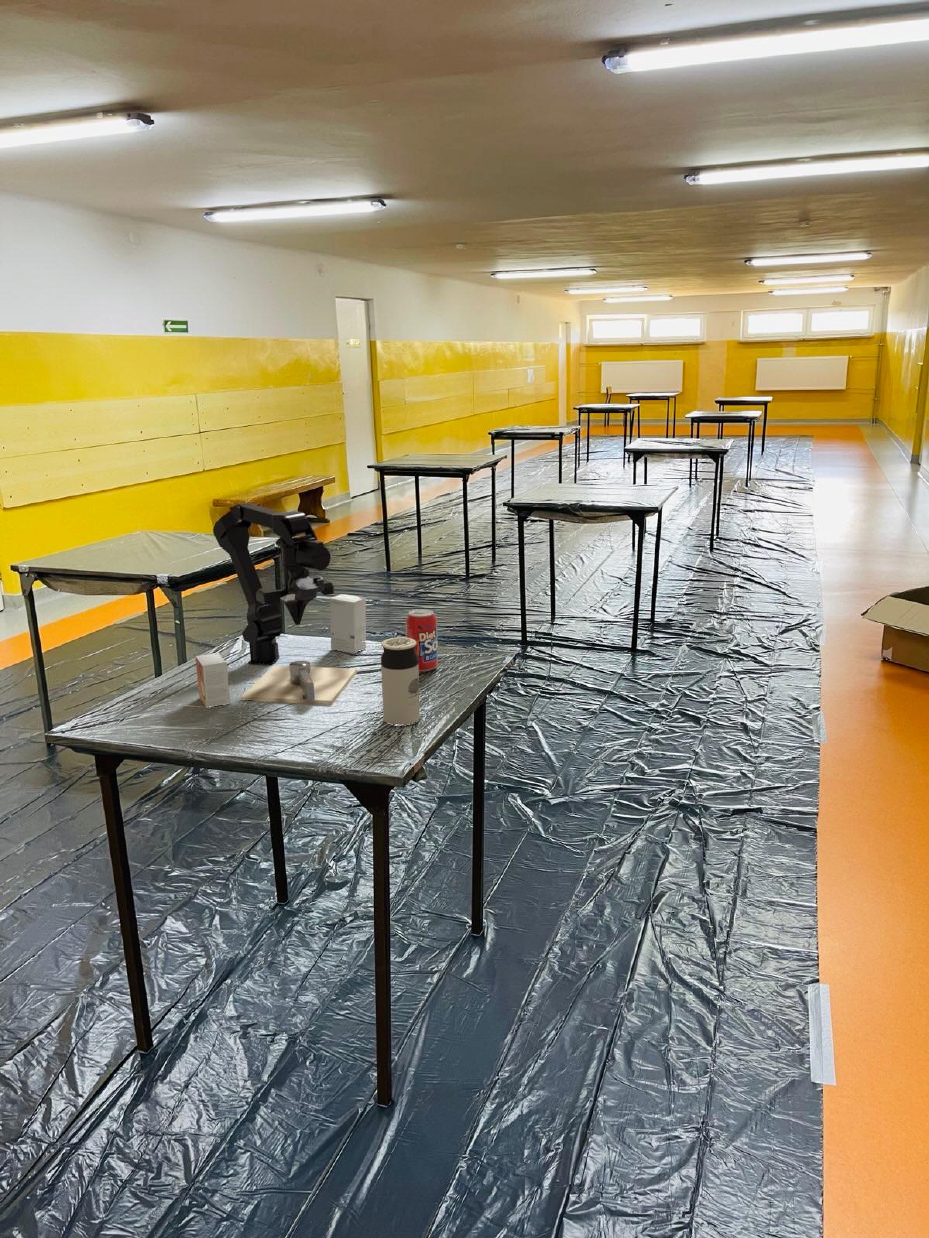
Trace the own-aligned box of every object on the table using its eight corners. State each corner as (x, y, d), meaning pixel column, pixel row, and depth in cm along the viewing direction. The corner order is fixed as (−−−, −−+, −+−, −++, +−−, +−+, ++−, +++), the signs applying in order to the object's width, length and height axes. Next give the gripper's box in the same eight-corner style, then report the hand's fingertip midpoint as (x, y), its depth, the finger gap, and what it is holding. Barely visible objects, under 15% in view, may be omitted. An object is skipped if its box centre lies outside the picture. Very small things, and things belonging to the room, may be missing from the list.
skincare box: (330, 650, 239) (327, 598, 235) (343, 644, 244) (340, 592, 240) (356, 654, 235) (353, 601, 231) (368, 648, 241) (366, 596, 236)
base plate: (240, 700, 204) (240, 696, 204) (274, 669, 225) (273, 665, 225) (331, 704, 201) (331, 700, 201) (357, 672, 222) (356, 668, 221)
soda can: (409, 663, 228) (407, 608, 224) (438, 663, 228) (437, 608, 224) (405, 673, 221) (403, 616, 216) (436, 673, 220) (435, 616, 216)
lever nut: (287, 675, 216) (286, 658, 215) (307, 673, 218) (306, 656, 217) (300, 701, 200) (299, 683, 198) (322, 698, 201) (320, 680, 200)
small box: (199, 698, 206) (194, 655, 203) (223, 693, 209) (219, 652, 206) (206, 709, 199) (201, 665, 196) (230, 704, 202) (226, 661, 199)
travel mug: (376, 720, 192) (372, 642, 187) (403, 710, 197) (400, 634, 192) (400, 730, 186) (397, 650, 181) (427, 719, 192) (425, 641, 187)
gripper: (271, 576, 203) (275, 639, 207) (343, 565, 213) (345, 626, 218) (253, 566, 211) (257, 627, 216) (322, 556, 222) (325, 615, 226)
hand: (297, 624), depth 219 cm, fingers closed
